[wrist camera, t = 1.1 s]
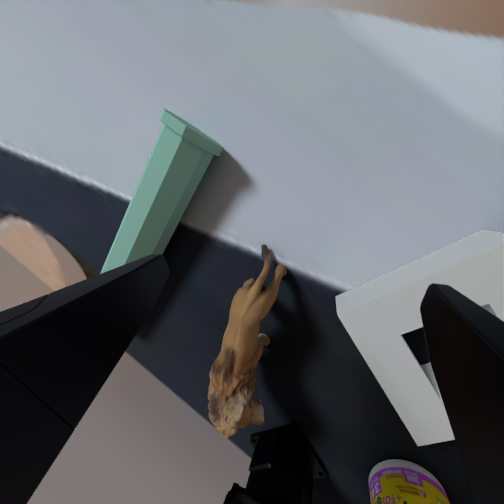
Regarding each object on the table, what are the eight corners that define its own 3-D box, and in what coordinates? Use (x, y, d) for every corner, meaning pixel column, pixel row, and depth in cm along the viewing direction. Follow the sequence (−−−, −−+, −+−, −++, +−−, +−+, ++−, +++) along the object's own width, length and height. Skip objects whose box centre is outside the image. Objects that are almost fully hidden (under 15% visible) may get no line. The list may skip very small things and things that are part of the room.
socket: (564, 364, 18) (629, 407, 14) (402, 405, 22) (418, 446, 18) (481, 229, 18) (522, 235, 14) (335, 296, 22) (337, 314, 18)
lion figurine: (278, 377, 25) (254, 462, 17) (233, 365, 27) (190, 437, 18) (290, 246, 22) (268, 269, 14) (239, 240, 24) (191, 258, 15)
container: (83, 344, 25) (182, 124, 17) (70, 304, 28) (149, 98, 20) (137, 332, 30) (235, 155, 22) (121, 299, 33) (202, 131, 24)
